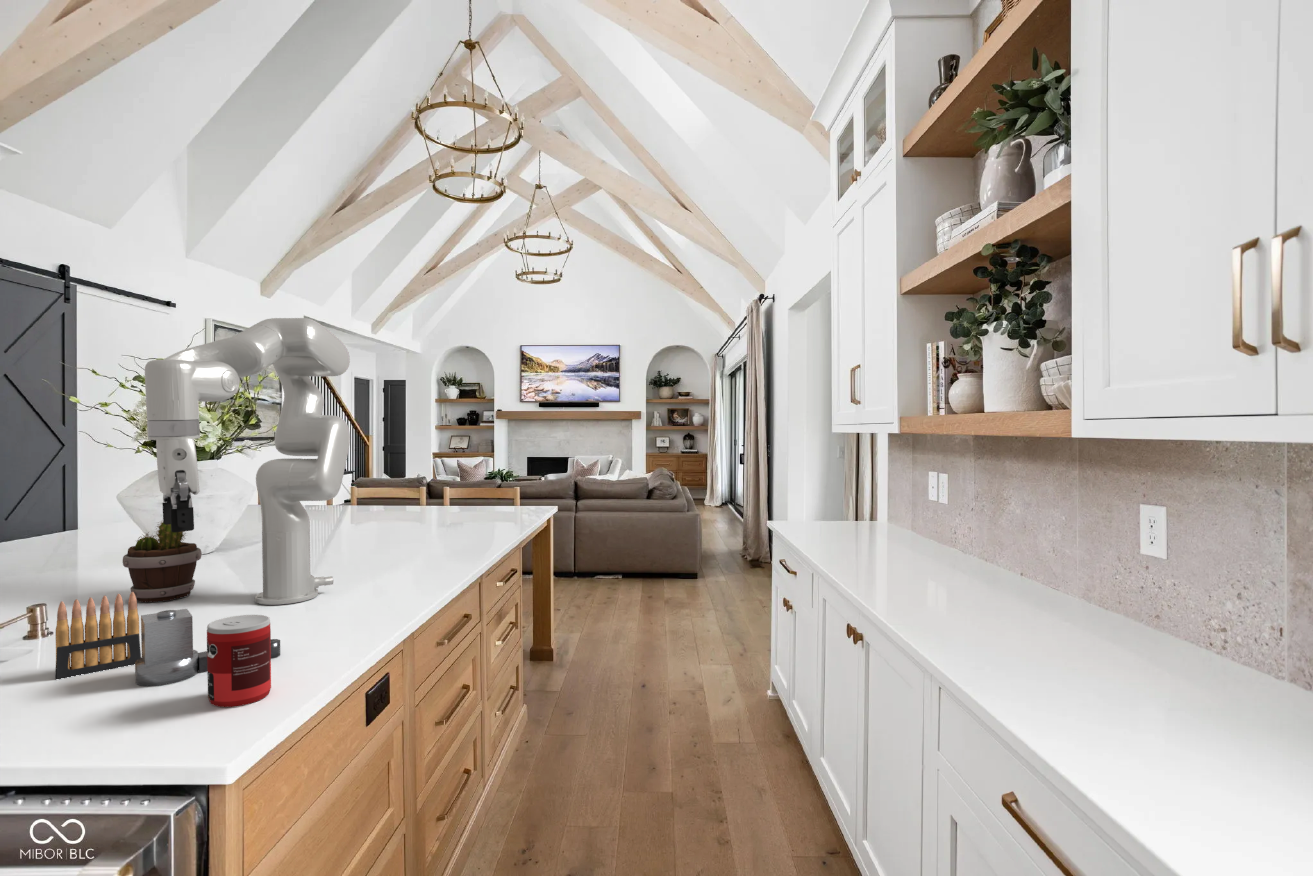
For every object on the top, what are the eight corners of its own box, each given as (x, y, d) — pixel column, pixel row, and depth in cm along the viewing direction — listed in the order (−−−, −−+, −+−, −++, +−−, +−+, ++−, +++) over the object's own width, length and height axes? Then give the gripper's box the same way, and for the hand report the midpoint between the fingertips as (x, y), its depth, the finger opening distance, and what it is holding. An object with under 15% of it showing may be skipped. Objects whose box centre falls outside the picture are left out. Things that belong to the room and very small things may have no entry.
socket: (187, 648, 111) (186, 604, 111) (193, 657, 107) (192, 612, 107) (141, 656, 108) (140, 611, 107) (145, 666, 103) (144, 619, 103)
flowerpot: (109, 600, 154) (107, 511, 153) (185, 586, 167) (184, 504, 167) (138, 609, 146) (137, 516, 146) (216, 594, 159) (214, 508, 159)
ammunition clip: (55, 680, 106) (53, 603, 106) (55, 677, 107) (53, 601, 107) (141, 664, 113) (140, 591, 113) (140, 661, 115) (138, 589, 114)
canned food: (225, 688, 102) (224, 615, 102) (281, 686, 103) (280, 613, 103) (195, 709, 95) (194, 630, 95) (256, 707, 95) (254, 628, 95)
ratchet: (274, 648, 121) (274, 611, 120) (285, 660, 114) (285, 621, 114) (133, 675, 108) (132, 634, 107) (137, 690, 102) (136, 646, 101)
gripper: (208, 431, 116) (212, 531, 117) (191, 428, 129) (195, 518, 130) (153, 433, 111) (158, 537, 112) (141, 429, 124) (146, 523, 125)
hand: (178, 527), depth 121 cm, fingers open, 9 cm apart
